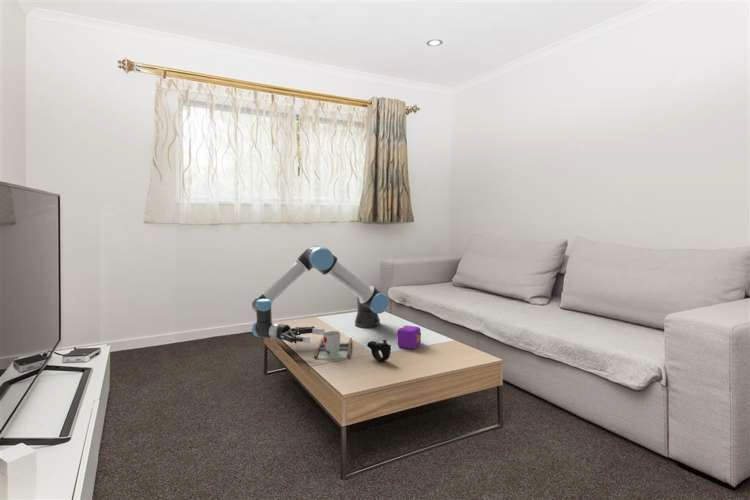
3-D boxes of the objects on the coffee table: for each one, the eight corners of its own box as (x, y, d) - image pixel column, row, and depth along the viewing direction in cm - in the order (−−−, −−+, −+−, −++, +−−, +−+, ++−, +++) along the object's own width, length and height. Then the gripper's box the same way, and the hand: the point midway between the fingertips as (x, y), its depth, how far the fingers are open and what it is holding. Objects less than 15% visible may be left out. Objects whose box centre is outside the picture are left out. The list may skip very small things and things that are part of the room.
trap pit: (348, 345, 211) (348, 343, 211) (347, 351, 203) (347, 348, 203) (321, 346, 211) (321, 343, 211) (319, 351, 203) (319, 348, 203)
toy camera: (423, 342, 215) (423, 323, 214) (417, 350, 202) (417, 330, 201) (403, 340, 218) (403, 321, 218) (396, 348, 206) (395, 328, 205)
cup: (324, 351, 202) (323, 331, 201) (341, 350, 203) (340, 330, 202) (323, 357, 194) (322, 336, 193) (341, 356, 195) (340, 335, 194)
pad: (347, 351, 203) (347, 350, 203) (346, 358, 193) (346, 357, 193) (319, 351, 203) (319, 351, 203) (316, 358, 193) (316, 358, 193)
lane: (351, 340, 220) (351, 337, 220) (349, 358, 193) (348, 355, 193) (321, 341, 220) (321, 338, 220) (314, 359, 193) (314, 355, 193)
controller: (386, 364, 184) (386, 342, 183) (366, 359, 192) (365, 337, 191) (393, 362, 187) (392, 340, 186) (372, 356, 195) (371, 335, 194)
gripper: (294, 332, 221) (329, 336, 212) (264, 346, 198) (302, 351, 190) (294, 318, 220) (329, 321, 212) (264, 331, 197) (302, 335, 189)
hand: (317, 335), depth 201 cm, fingers open, 13 cm apart
